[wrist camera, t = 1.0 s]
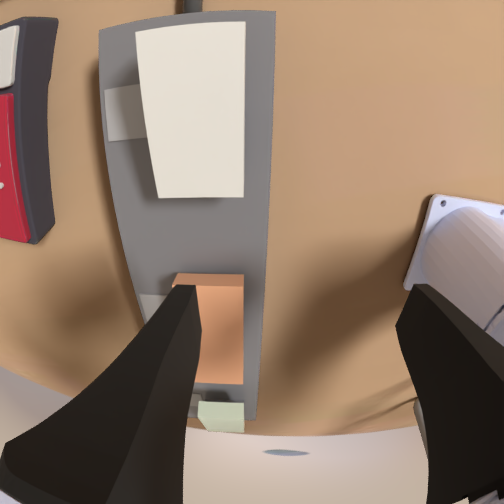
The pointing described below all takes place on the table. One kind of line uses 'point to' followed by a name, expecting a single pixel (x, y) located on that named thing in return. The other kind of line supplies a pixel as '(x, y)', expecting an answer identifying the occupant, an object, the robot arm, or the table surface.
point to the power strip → (196, 208)
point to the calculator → (25, 128)
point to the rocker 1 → (194, 107)
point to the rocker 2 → (222, 416)
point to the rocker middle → (219, 326)
